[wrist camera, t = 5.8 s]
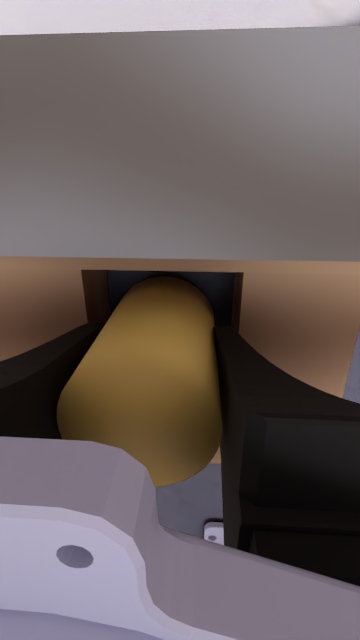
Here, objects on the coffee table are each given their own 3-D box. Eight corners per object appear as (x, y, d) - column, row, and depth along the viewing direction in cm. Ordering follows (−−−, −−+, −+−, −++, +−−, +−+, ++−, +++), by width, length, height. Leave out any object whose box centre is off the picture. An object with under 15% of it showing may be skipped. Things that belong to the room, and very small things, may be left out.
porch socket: (305, 421, 17) (365, 569, 11) (44, 410, 18) (-44, 540, 12) (368, 104, 11) (576, 20, 5) (-20, 109, 12) (-262, 42, 6)
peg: (221, 281, 12) (234, 366, 7) (208, 370, 14) (211, 495, 9) (117, 270, 13) (50, 346, 7) (116, 360, 14) (61, 477, 9)
